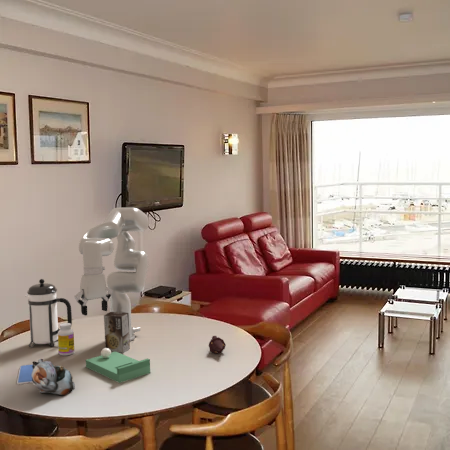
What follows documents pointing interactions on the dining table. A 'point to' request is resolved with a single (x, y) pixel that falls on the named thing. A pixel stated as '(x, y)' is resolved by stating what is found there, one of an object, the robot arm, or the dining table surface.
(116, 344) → the coffee box
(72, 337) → the supplement bottle
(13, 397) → the dining table surface
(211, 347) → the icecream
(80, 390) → the dining table surface
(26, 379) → the tablet computer
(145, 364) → the green
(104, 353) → the ball
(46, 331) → the coffee press
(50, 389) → the lucky cat figurine
